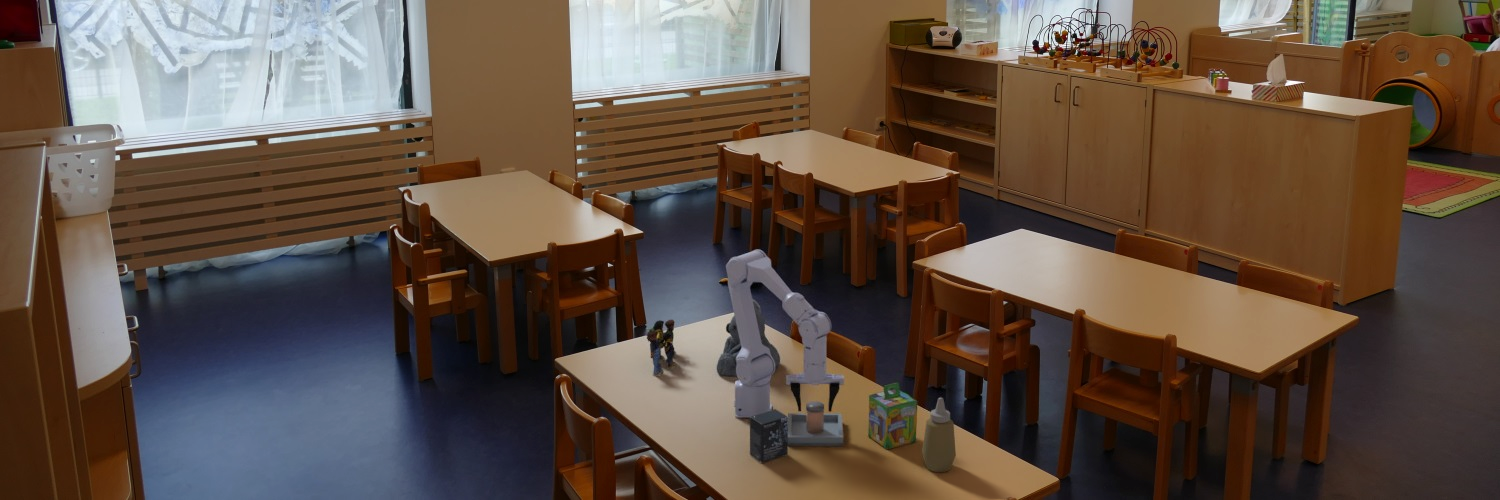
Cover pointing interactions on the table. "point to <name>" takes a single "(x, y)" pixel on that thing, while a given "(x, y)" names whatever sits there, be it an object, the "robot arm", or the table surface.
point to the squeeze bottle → (939, 440)
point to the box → (768, 435)
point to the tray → (826, 438)
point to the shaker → (815, 417)
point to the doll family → (661, 345)
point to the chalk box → (892, 417)
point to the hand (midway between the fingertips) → (814, 409)
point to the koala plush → (733, 345)
